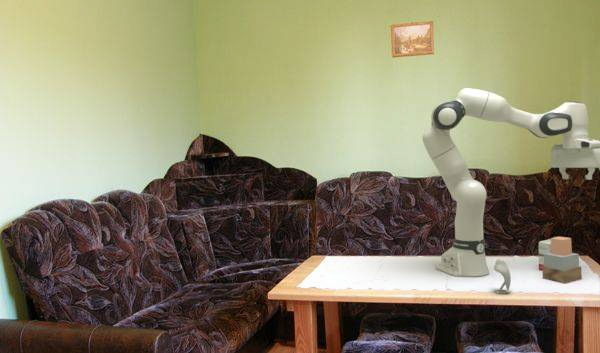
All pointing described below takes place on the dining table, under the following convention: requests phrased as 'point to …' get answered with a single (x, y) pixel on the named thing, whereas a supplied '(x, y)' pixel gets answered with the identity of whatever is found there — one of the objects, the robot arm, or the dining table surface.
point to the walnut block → (562, 275)
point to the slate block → (561, 261)
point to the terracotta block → (561, 246)
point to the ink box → (543, 251)
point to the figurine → (503, 269)
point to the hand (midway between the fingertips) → (576, 179)
